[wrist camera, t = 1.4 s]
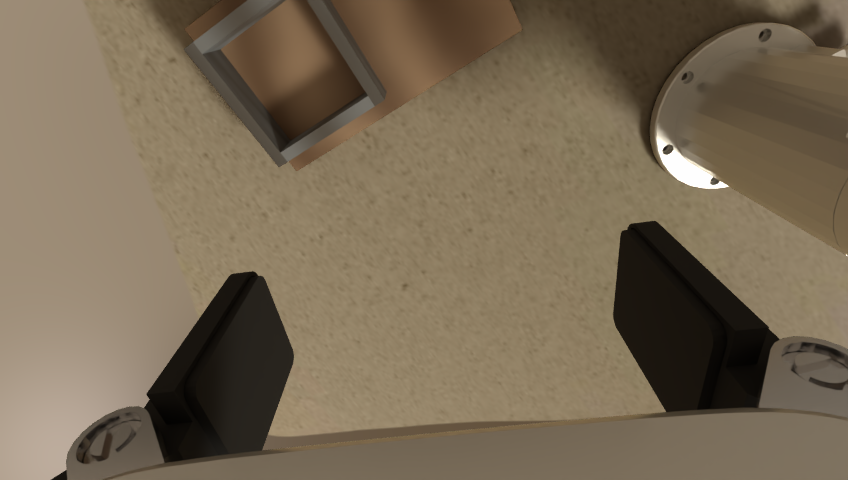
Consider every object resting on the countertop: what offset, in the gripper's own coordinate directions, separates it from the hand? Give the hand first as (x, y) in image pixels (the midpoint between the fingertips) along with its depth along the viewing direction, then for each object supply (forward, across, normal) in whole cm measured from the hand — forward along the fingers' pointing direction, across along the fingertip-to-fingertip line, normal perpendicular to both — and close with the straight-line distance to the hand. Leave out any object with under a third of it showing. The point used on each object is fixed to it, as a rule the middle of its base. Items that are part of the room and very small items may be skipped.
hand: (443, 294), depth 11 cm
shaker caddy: (+25, +4, -6) cm, 26 cm away
